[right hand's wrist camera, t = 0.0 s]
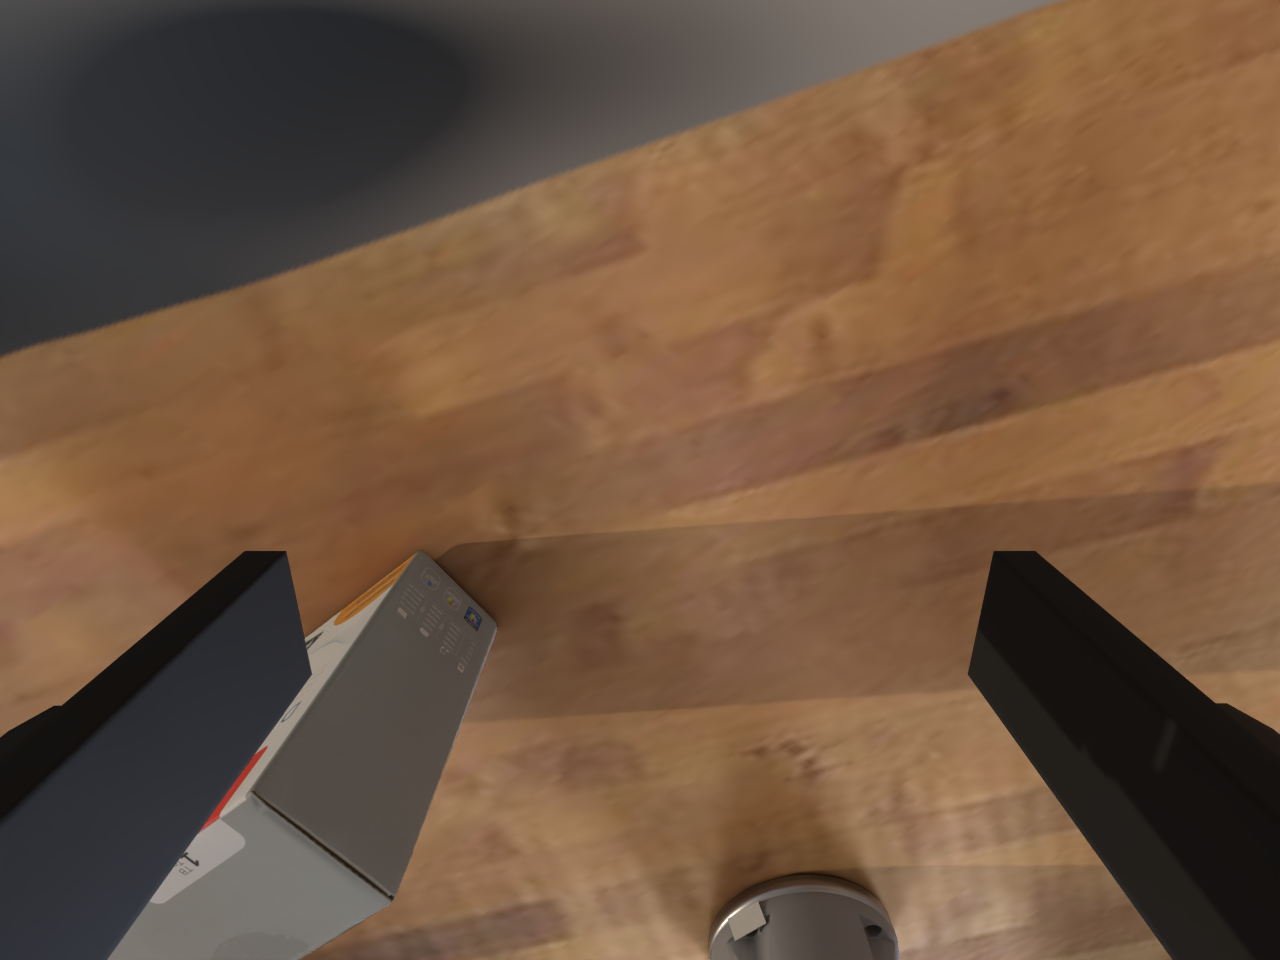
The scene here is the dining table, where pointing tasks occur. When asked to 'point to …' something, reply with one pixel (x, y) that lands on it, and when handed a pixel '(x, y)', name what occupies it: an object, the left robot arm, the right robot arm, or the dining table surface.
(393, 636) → the hard drive box
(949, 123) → the dining table surface
